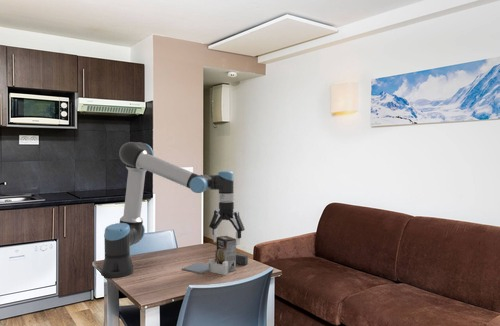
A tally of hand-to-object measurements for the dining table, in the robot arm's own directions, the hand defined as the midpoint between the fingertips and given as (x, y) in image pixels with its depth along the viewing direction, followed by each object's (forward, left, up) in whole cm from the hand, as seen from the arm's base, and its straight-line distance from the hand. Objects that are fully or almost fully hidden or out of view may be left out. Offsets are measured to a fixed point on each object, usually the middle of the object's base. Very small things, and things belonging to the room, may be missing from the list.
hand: (226, 243), depth 190 cm
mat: (-12, -6, -13) cm, 19 cm away
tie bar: (-5, +11, -13) cm, 18 cm away
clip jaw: (0, -7, -13) cm, 15 cm away
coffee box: (0, 0, -14) cm, 14 cm away
